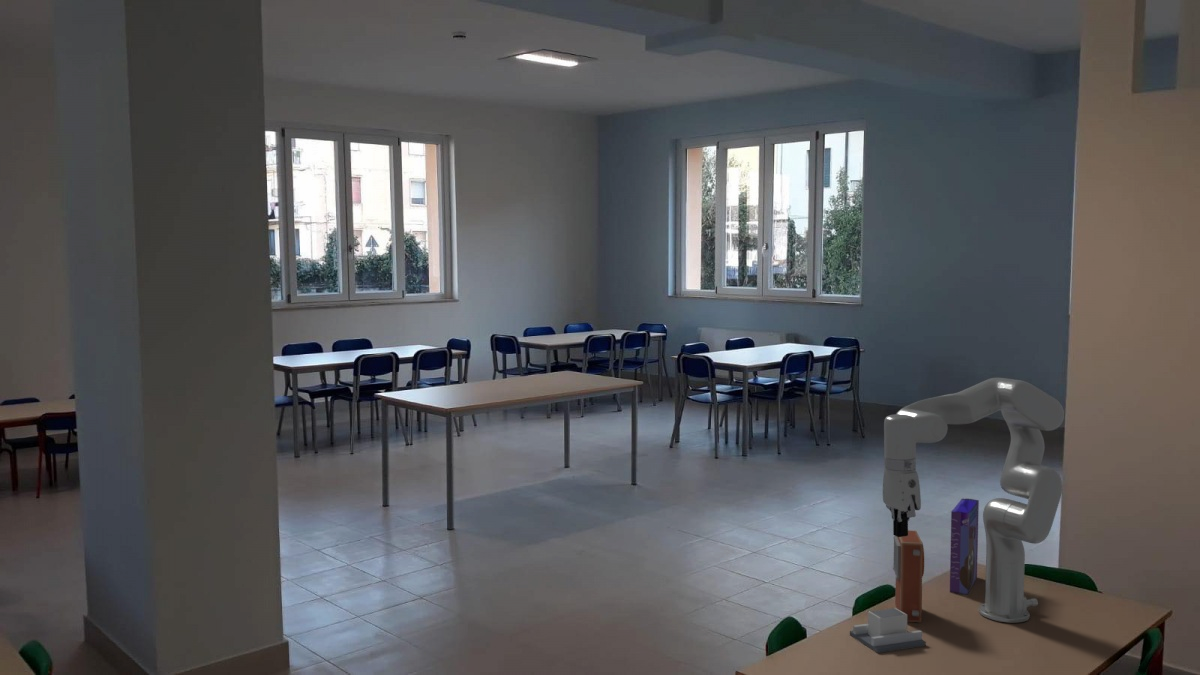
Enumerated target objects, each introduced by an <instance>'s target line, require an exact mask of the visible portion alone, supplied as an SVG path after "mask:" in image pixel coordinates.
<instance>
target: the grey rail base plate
mask: <svg viewBox="0 0 1200 675" xmlns="http://www.w3.org/2000/svg"><path fill="white" fill-rule="evenodd" d="M849 636H851V637H852V638H854V639H856V640H857V641H858V642H860V643H861V644H863V645H864V646H866V647H867V648H869V649H870V648H871V650H872V651H873V650H874V651H873V652H874V653H876V654H877V653H879V652H880V653H886V652H892V651H899V650H905V649H906V650H907V649H912V648H920V647H926V645H927V644H926V643H927V641H925V640H924V639H923V631H922V630H920V629H919V630H912V631H908V630H907V632H904V633H897V634H890V635H883V636H876V637H871V636H869V635H868V623H863V624H854V625H853V626H852V630H850V631H849Z"/></svg>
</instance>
